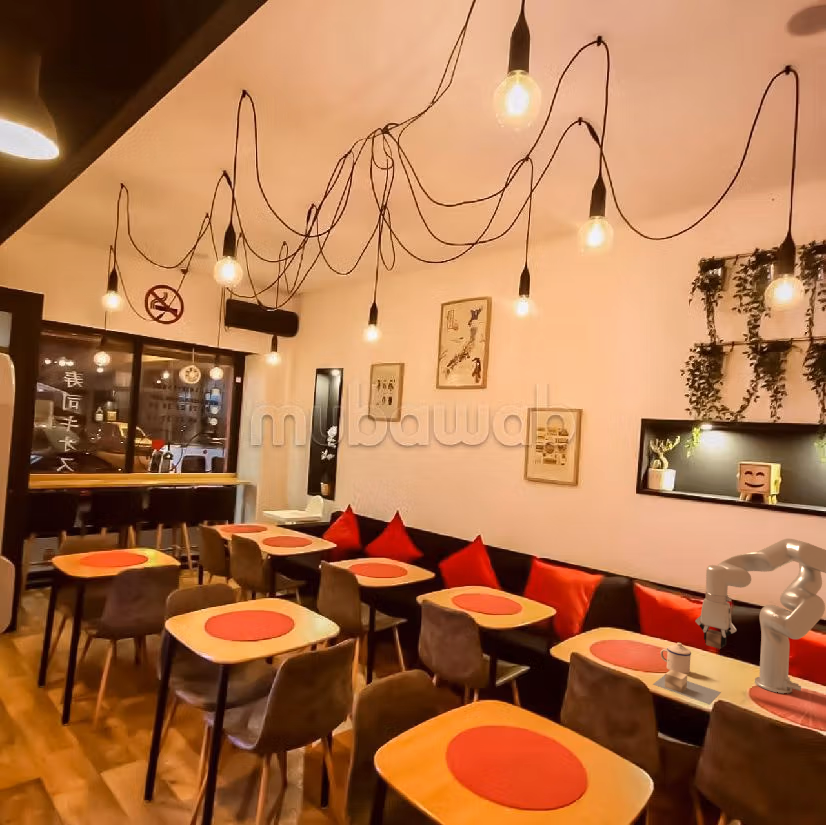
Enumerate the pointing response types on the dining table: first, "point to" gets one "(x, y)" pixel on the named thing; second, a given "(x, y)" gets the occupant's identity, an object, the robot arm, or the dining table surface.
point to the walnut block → (713, 638)
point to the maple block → (676, 681)
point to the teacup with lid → (677, 658)
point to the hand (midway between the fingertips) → (714, 643)
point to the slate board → (693, 691)
